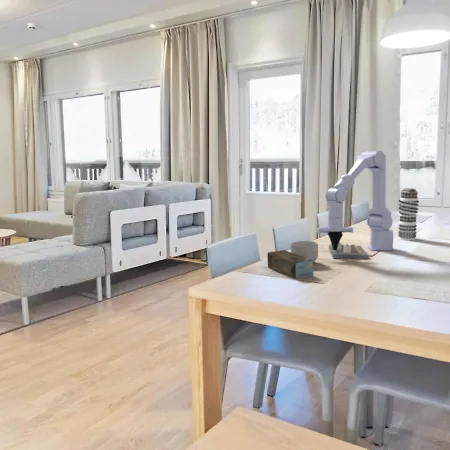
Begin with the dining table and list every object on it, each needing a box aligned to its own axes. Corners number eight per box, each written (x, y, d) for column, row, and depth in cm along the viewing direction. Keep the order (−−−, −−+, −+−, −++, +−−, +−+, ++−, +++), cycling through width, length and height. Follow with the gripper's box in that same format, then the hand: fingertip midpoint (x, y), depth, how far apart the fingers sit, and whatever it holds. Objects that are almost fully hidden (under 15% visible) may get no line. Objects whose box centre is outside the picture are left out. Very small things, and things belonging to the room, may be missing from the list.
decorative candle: (411, 241, 224) (414, 189, 220) (393, 238, 231) (395, 188, 227) (420, 238, 230) (423, 188, 226) (402, 236, 237) (405, 187, 233)
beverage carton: (295, 279, 158) (295, 260, 157) (266, 267, 175) (266, 250, 174) (314, 276, 161) (314, 258, 160) (284, 265, 178) (284, 248, 177)
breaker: (340, 248, 199) (340, 241, 199) (341, 250, 196) (341, 242, 195) (334, 248, 199) (334, 240, 199) (335, 250, 196) (335, 242, 195)
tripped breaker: (349, 251, 192) (349, 243, 192) (350, 253, 189) (350, 245, 188) (343, 251, 193) (343, 243, 192) (344, 253, 189) (344, 245, 189)
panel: (360, 249, 206) (360, 244, 206) (368, 259, 186) (368, 253, 186) (328, 248, 208) (328, 243, 208) (333, 258, 188) (333, 252, 188)
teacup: (317, 266, 175) (318, 245, 174) (289, 265, 177) (289, 245, 176) (317, 258, 189) (318, 239, 187) (291, 257, 191) (291, 238, 190)
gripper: (349, 215, 193) (349, 247, 195) (315, 216, 193) (315, 248, 195) (355, 218, 186) (354, 250, 188) (319, 218, 186) (319, 251, 188)
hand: (334, 249), depth 191 cm, fingers closed
